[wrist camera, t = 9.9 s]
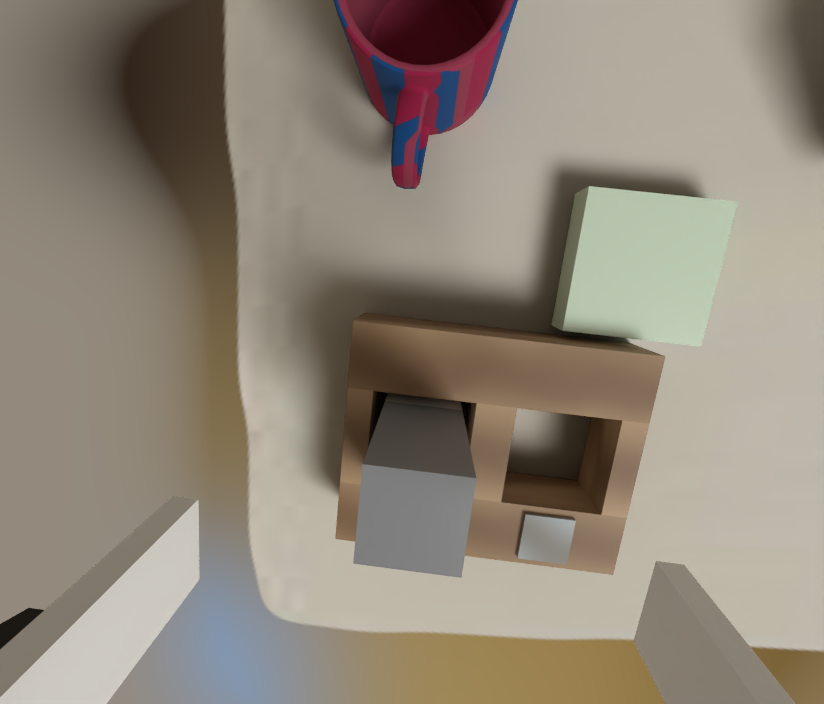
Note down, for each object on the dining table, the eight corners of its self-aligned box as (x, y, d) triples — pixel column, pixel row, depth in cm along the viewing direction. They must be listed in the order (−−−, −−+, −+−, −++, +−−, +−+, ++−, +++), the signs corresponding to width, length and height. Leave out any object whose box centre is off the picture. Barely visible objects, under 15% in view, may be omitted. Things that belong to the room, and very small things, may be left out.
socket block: (364, 313, 23) (351, 321, 20) (630, 343, 23) (667, 357, 19) (348, 503, 26) (334, 541, 22) (588, 533, 25) (614, 577, 22)
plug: (390, 385, 24) (362, 463, 14) (458, 392, 24) (476, 478, 14) (384, 448, 25) (353, 563, 15) (450, 456, 25) (461, 577, 15)
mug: (512, 6, 20) (551, -124, 13) (456, 214, 22) (465, 191, 15) (379, -29, 20) (352, -177, 13) (335, 182, 22) (293, 145, 15)
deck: (575, 193, 22) (589, 186, 20) (710, 207, 21) (738, 201, 19) (551, 325, 23) (562, 330, 21) (678, 339, 23) (701, 346, 21)
